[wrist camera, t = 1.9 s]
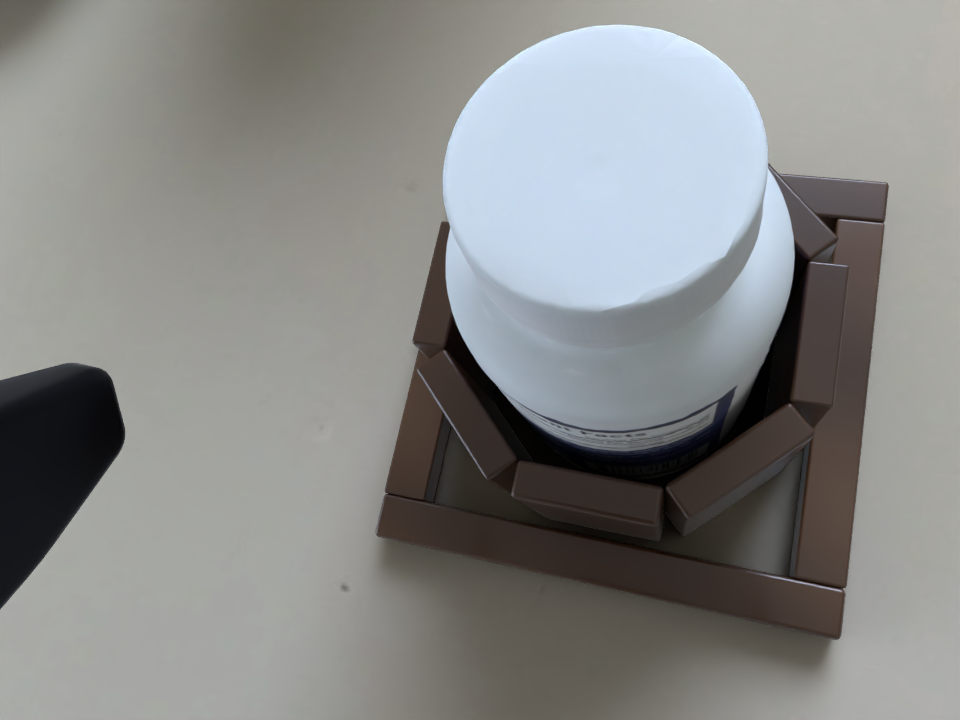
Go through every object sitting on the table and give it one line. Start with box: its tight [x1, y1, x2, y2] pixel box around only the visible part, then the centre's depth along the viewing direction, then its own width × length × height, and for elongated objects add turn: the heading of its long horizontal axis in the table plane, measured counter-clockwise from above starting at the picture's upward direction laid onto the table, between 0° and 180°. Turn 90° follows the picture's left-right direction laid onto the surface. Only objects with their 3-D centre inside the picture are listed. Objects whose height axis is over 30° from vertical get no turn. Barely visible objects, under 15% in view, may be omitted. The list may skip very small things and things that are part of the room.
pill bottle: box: [442, 25, 795, 480], centre depth 14 cm, size 5×5×10 cm
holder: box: [376, 163, 889, 640], centre depth 17 cm, size 10×10×4 cm
